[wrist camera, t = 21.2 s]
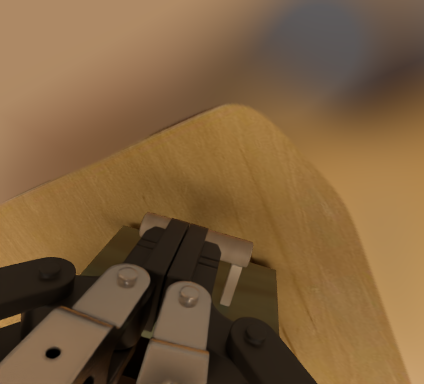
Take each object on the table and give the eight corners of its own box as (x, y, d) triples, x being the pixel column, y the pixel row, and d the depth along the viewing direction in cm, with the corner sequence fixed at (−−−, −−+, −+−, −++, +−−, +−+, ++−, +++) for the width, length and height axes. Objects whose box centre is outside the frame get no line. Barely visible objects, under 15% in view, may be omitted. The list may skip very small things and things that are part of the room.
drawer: (131, 171, 22) (68, 223, 15) (295, 218, 22) (310, 294, 15) (104, 347, 29) (51, 442, 22) (231, 387, 28) (219, 497, 21)
